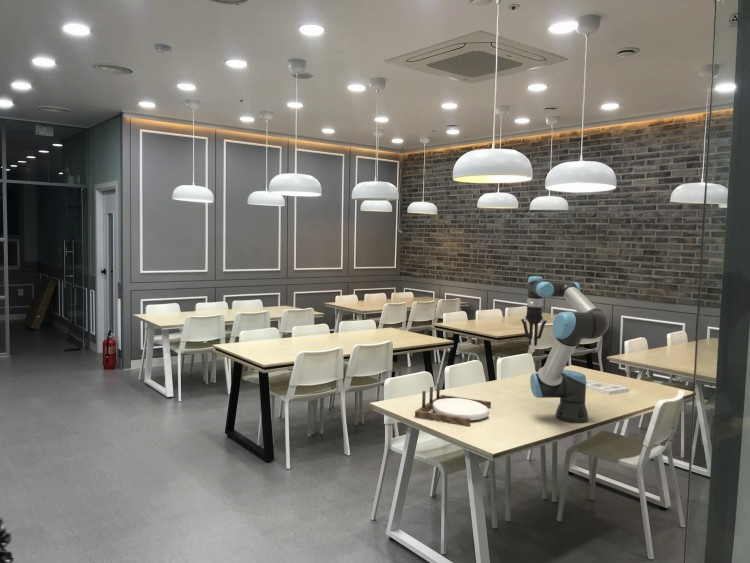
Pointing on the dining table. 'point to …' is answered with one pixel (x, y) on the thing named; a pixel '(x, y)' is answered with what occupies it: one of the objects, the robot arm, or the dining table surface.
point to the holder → (605, 387)
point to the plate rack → (425, 414)
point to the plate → (461, 408)
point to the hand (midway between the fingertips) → (532, 351)
